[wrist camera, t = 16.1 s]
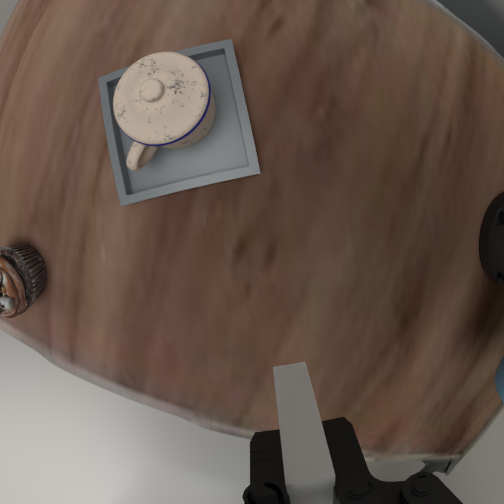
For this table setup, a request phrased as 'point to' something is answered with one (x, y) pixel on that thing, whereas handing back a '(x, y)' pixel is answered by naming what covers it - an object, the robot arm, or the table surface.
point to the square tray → (198, 155)
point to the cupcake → (20, 279)
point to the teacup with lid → (163, 105)
